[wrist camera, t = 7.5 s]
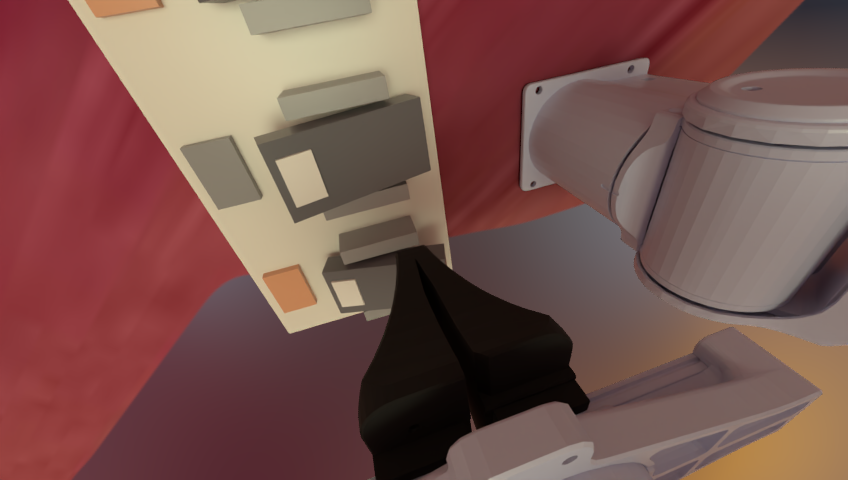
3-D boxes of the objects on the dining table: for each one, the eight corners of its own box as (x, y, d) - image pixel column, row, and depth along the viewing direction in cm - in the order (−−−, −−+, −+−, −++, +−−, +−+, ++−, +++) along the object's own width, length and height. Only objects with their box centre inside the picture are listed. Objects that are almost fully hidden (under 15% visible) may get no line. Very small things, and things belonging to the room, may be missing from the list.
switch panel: (371, -232, 12) (389, -346, 9) (445, 266, 28) (463, 303, 25) (-16, -193, 11) (-198, -311, 7) (292, 311, 27) (286, 357, 23)
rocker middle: (405, 93, 17) (421, 97, 15) (417, 163, 19) (432, 170, 18) (253, 137, 14) (257, 146, 13) (289, 211, 17) (295, 224, 15)
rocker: (443, 243, 20) (445, 260, 19) (449, 286, 23) (451, 304, 21) (328, 257, 21) (320, 274, 20) (345, 296, 24) (340, 315, 22)
